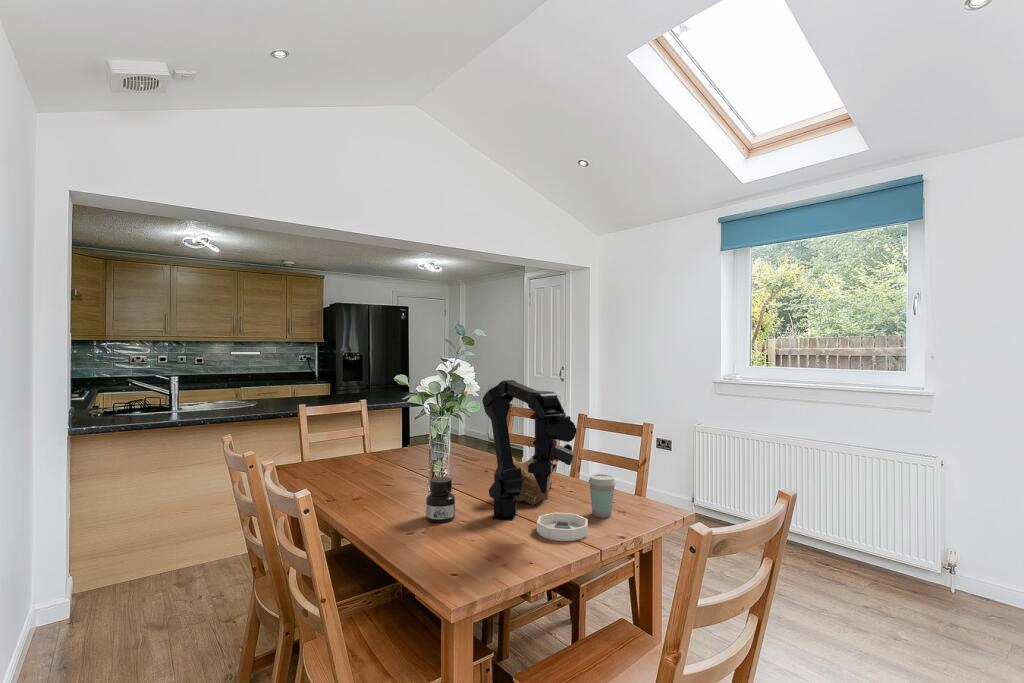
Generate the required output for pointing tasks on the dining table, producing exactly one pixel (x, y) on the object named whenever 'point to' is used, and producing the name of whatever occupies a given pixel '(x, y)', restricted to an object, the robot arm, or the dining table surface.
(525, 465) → the tan rock
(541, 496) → the tall wooden post
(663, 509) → the dining table surface
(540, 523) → the octagonal white tray
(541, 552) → the dining table surface
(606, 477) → the coffee cup
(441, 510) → the ink bottle
